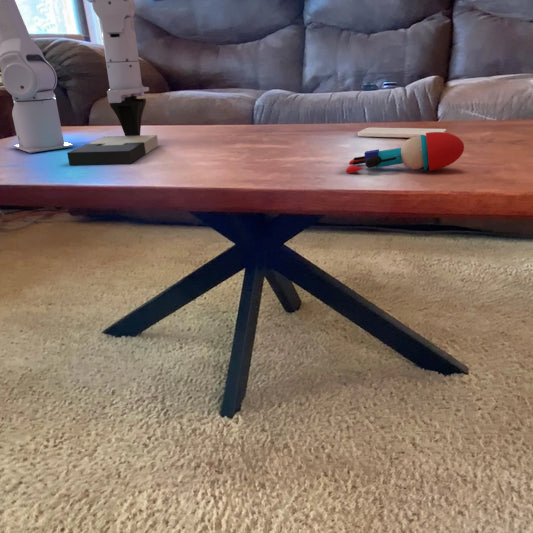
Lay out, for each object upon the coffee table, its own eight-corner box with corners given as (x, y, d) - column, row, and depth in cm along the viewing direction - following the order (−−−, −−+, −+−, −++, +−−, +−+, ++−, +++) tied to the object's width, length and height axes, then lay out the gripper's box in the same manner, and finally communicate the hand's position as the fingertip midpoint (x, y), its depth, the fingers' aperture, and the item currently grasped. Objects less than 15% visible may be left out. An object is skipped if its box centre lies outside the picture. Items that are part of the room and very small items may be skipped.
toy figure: (347, 186, 68) (467, 169, 63) (341, 148, 66) (464, 128, 62) (353, 177, 74) (462, 161, 70) (349, 143, 73) (460, 125, 68)
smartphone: (368, 127, 101) (447, 128, 94) (367, 131, 101) (446, 133, 95) (356, 132, 95) (440, 134, 88) (356, 136, 95) (439, 139, 89)
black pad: (88, 155, 88) (86, 143, 87) (145, 154, 87) (144, 142, 86) (69, 165, 80) (66, 152, 80) (131, 163, 80) (129, 150, 79)
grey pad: (105, 147, 95) (103, 136, 94) (158, 145, 94) (156, 134, 94) (84, 157, 86) (82, 145, 85) (142, 156, 85) (141, 144, 84)
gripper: (132, 62, 84) (142, 145, 89) (155, 60, 97) (163, 133, 102) (90, 63, 84) (103, 146, 89) (119, 61, 97) (129, 134, 103)
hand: (133, 139), depth 96 cm, fingers closed
